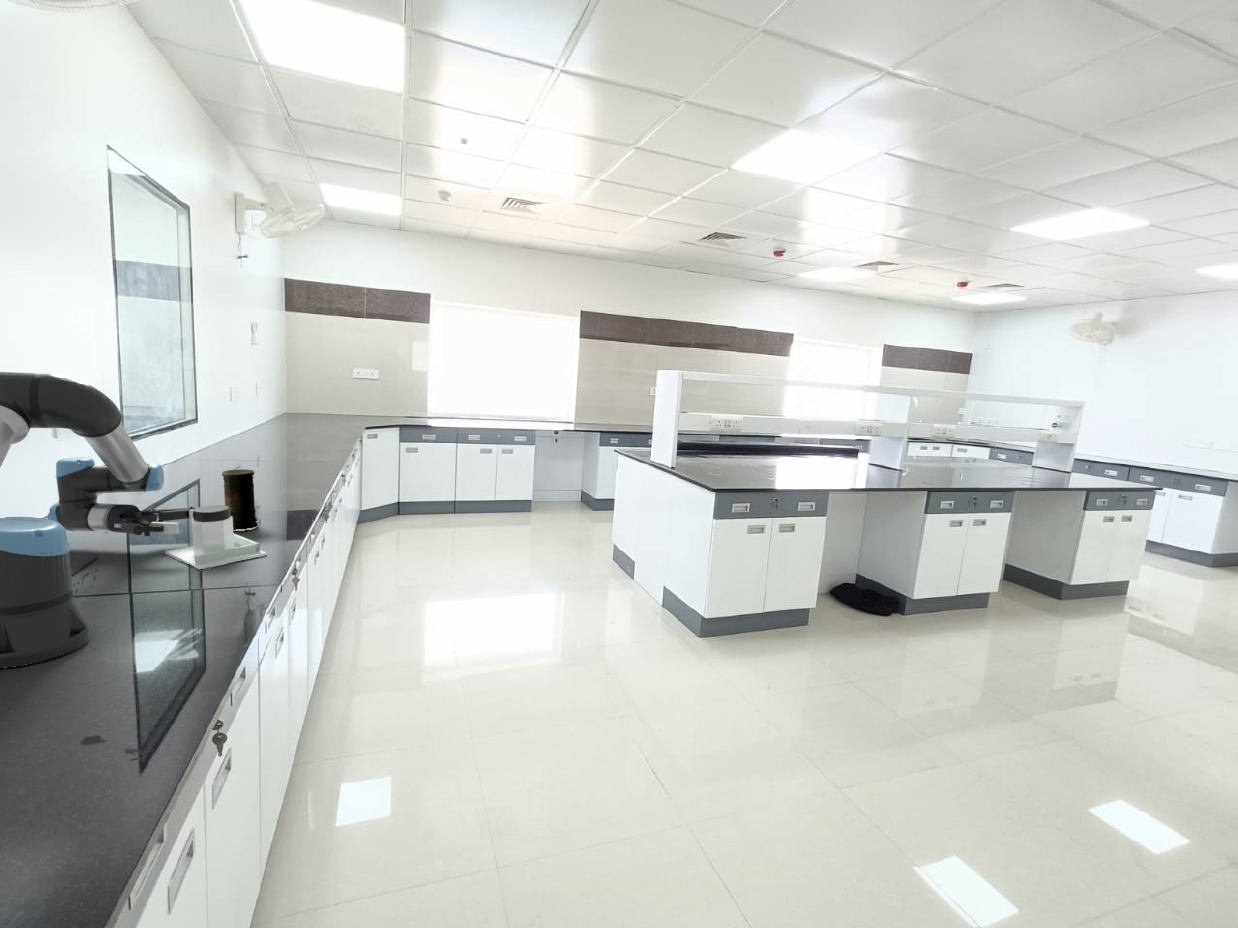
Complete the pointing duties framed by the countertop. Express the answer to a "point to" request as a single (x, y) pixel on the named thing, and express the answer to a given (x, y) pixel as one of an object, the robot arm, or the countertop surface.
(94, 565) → the countertop surface
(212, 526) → the jar
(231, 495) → the container
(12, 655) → the robot arm
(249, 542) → the holder
